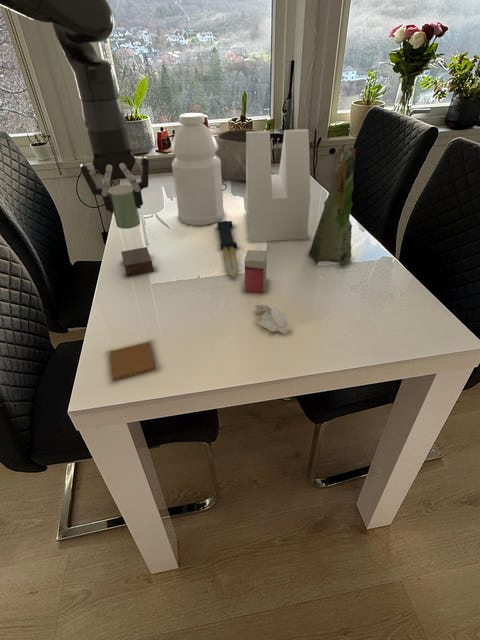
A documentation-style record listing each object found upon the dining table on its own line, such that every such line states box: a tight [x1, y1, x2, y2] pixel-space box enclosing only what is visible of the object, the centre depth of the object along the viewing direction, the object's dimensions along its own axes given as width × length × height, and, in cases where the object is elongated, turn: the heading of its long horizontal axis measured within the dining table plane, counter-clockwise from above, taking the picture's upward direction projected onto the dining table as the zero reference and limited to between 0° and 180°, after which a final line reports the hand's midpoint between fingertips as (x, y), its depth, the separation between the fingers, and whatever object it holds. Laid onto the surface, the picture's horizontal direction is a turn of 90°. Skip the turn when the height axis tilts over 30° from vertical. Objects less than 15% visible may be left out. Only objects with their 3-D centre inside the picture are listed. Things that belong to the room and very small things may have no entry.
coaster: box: [109, 341, 156, 381], centre depth 66 cm, size 7×7×1 cm
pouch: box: [308, 146, 357, 266], centre depth 85 cm, size 11×12×25 cm
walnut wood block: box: [120, 246, 155, 277], centre depth 91 cm, size 6×8×3 cm
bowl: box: [215, 128, 274, 182], centre depth 141 cm, size 23×23×15 cm
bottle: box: [170, 112, 225, 226], centre depth 107 cm, size 14×14×28 cm
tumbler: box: [108, 184, 141, 230], centre depth 83 cm, size 6×6×8 cm
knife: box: [216, 220, 239, 279], centre depth 97 cm, size 4×2×30 cm
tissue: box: [254, 304, 289, 334], centre depth 72 cm, size 6×8×4 cm
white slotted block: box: [245, 128, 311, 243], centre depth 101 cm, size 19×15×25 cm
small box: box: [244, 249, 268, 294], centre depth 81 cm, size 5×4×8 cm
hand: (125, 209), depth 83 cm, fingers closed on tumbler, 5 cm apart
